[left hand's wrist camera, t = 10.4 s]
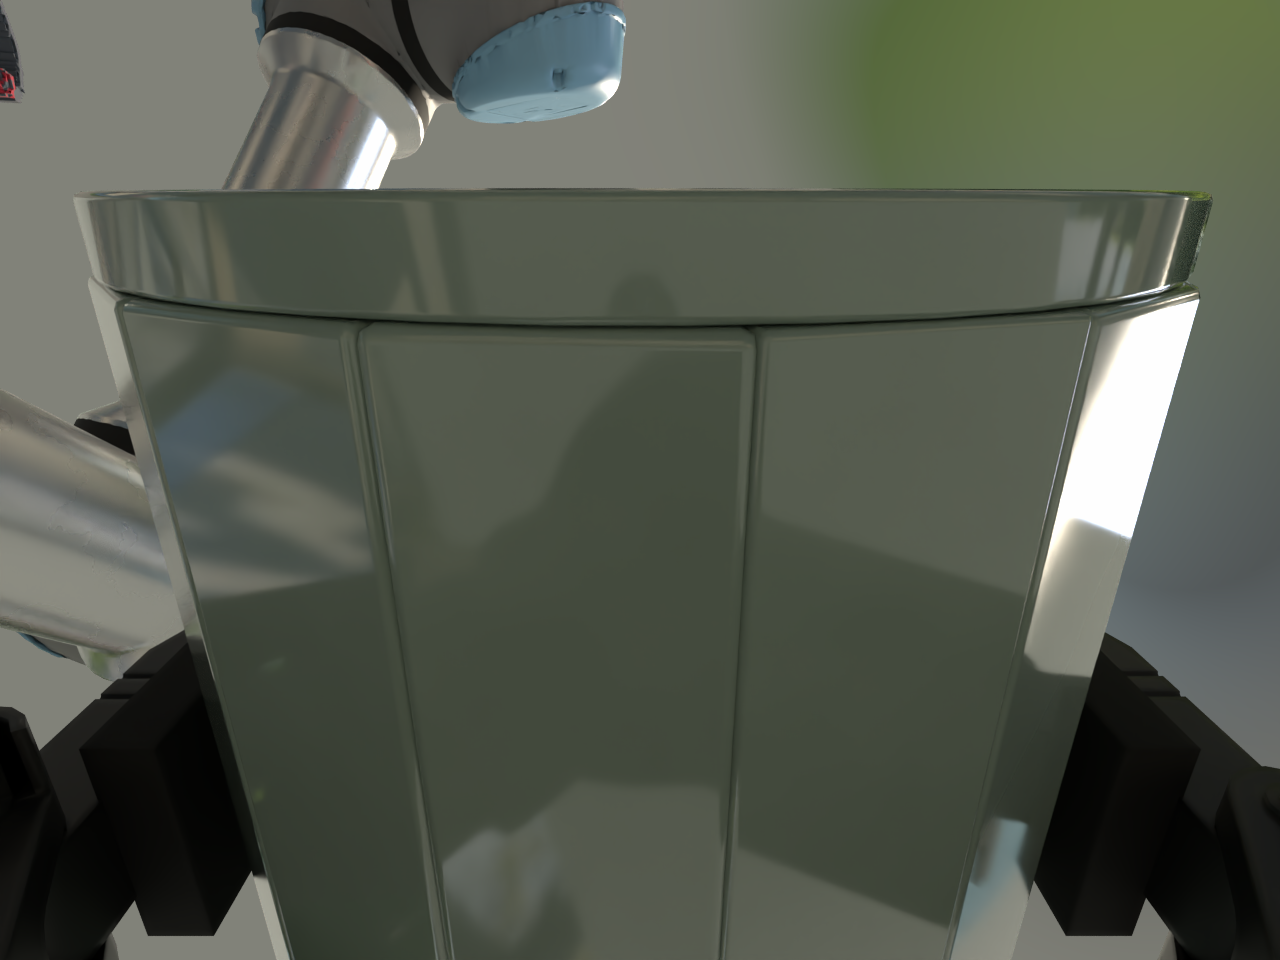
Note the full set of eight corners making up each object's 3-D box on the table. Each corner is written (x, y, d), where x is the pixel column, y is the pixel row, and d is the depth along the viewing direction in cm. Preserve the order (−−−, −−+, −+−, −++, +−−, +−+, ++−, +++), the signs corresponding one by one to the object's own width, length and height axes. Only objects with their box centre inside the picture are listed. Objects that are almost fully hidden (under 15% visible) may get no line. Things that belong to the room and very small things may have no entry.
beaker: (1591, 190, 5) (1124, 1202, 9) (811, 195, 13) (769, 709, 17) (-573, 181, 2) (279, 1640, 6) (229, 194, 10) (349, 802, 15)
